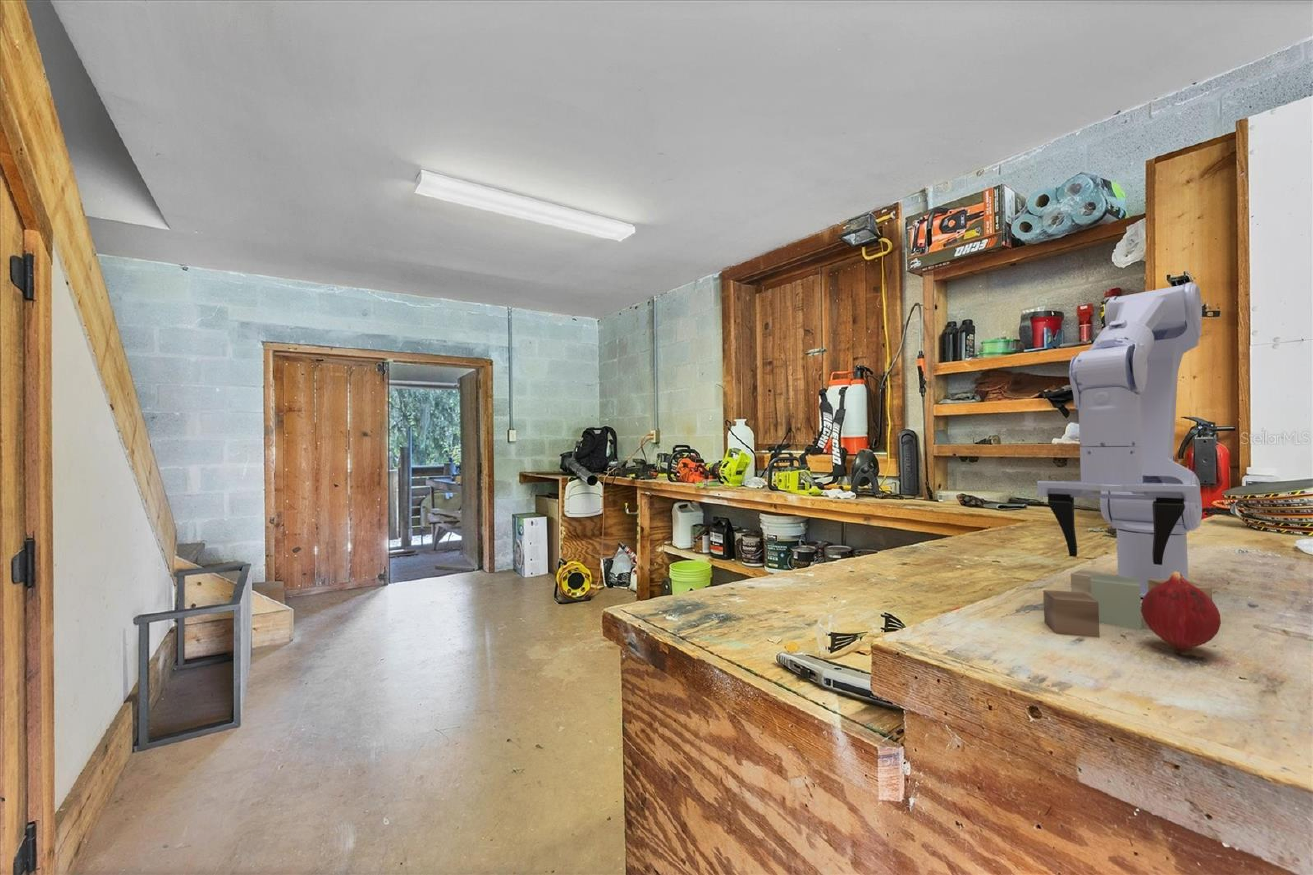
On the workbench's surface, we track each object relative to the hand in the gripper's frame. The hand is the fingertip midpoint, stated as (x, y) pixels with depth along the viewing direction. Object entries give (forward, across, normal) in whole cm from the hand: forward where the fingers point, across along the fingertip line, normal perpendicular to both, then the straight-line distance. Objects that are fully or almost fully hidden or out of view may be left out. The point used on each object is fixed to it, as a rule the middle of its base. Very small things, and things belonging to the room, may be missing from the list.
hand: (1113, 559), depth 64 cm
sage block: (+7, 0, 0) cm, 7 cm away
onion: (+8, +5, -8) cm, 12 cm away
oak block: (+7, +6, +7) cm, 12 cm away
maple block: (+7, -2, +7) cm, 10 cm away
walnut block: (+8, -4, -7) cm, 11 cm away
